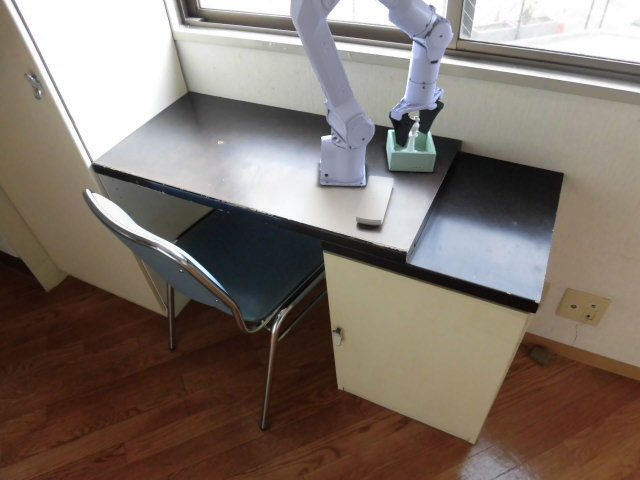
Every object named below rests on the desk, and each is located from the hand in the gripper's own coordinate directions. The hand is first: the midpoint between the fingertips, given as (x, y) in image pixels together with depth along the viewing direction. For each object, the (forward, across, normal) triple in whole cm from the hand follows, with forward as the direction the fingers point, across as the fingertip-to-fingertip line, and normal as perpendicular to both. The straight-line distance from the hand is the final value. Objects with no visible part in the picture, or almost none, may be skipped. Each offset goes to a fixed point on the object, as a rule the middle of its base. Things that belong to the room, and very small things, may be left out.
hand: (411, 138), depth 103 cm
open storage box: (+5, 0, 0) cm, 5 cm away
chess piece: (+5, 0, 0) cm, 5 cm away
